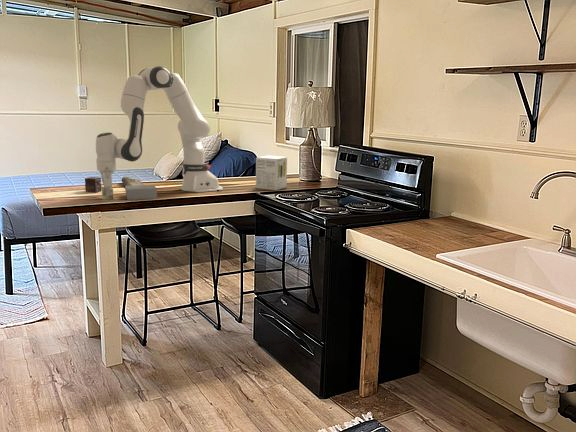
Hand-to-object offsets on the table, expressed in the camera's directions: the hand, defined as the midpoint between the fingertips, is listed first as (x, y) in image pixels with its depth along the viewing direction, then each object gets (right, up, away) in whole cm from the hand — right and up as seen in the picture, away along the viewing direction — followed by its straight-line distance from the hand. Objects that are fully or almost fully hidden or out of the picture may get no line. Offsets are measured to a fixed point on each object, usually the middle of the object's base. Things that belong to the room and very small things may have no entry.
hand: (107, 194), depth 275 cm
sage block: (0, -2, 0) cm, 2 cm away
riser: (+15, -1, +6) cm, 16 cm away
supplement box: (+79, +5, +42) cm, 90 cm away
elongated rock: (+3, +5, +35) cm, 36 cm away
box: (-13, +2, +19) cm, 23 cm away
